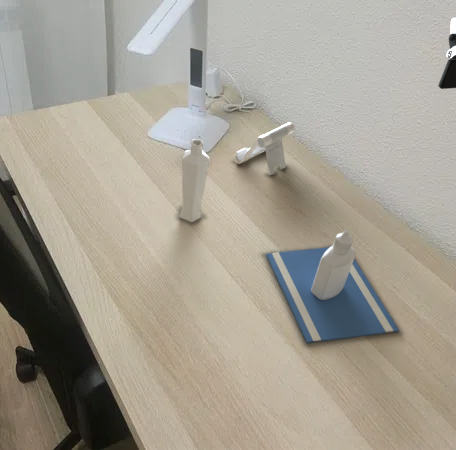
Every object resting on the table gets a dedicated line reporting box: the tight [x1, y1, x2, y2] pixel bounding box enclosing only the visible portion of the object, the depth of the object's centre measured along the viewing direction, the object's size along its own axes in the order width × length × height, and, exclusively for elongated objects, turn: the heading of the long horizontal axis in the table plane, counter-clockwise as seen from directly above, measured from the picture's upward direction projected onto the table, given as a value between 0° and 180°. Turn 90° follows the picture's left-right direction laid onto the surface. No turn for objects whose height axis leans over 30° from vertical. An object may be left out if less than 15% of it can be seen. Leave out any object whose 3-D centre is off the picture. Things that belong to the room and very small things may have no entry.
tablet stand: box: [234, 122, 296, 176], centre depth 108 cm, size 9×8×8 cm
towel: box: [265, 246, 400, 344], centre depth 85 cm, size 14×18×1 cm
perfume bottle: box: [179, 138, 211, 223], centre depth 93 cm, size 5×4×15 cm
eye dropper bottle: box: [311, 229, 356, 300], centre depth 81 cm, size 4×6×12 cm
